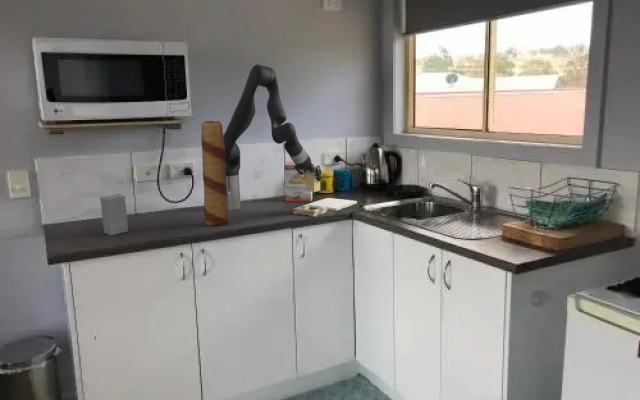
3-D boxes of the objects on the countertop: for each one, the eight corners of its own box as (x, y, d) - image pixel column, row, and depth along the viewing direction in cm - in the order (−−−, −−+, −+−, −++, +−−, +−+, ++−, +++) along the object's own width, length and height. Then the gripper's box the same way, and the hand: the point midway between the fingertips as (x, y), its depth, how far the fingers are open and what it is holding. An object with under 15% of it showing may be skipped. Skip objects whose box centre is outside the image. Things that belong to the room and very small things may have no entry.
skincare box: (122, 229, 222) (119, 193, 219) (129, 232, 217) (126, 195, 214) (102, 233, 216) (98, 196, 213) (109, 236, 211) (105, 198, 208)
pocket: (313, 216, 239) (313, 211, 238) (293, 213, 245) (292, 208, 245) (327, 211, 248) (327, 206, 248) (307, 209, 255) (306, 204, 254)
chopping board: (336, 210, 250) (336, 208, 250) (306, 206, 260) (306, 204, 260) (356, 203, 266) (356, 201, 266) (327, 200, 276) (327, 197, 276)
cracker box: (285, 201, 274) (283, 162, 270) (287, 199, 280) (285, 161, 275) (311, 202, 272) (310, 162, 268) (312, 199, 278) (311, 161, 274)
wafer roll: (229, 220, 235) (223, 120, 226) (228, 225, 225) (223, 121, 216) (206, 221, 233) (199, 121, 225) (204, 227, 223) (197, 122, 214)
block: (314, 192, 244) (314, 166, 241) (305, 190, 246) (305, 166, 244) (320, 190, 248) (320, 165, 245) (311, 189, 250) (311, 164, 248)
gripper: (316, 151, 233) (330, 174, 245) (290, 149, 241) (306, 172, 253) (309, 164, 230) (324, 187, 242) (284, 162, 238) (299, 184, 250)
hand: (314, 179), depth 247 cm, fingers closed on block, 5 cm apart
